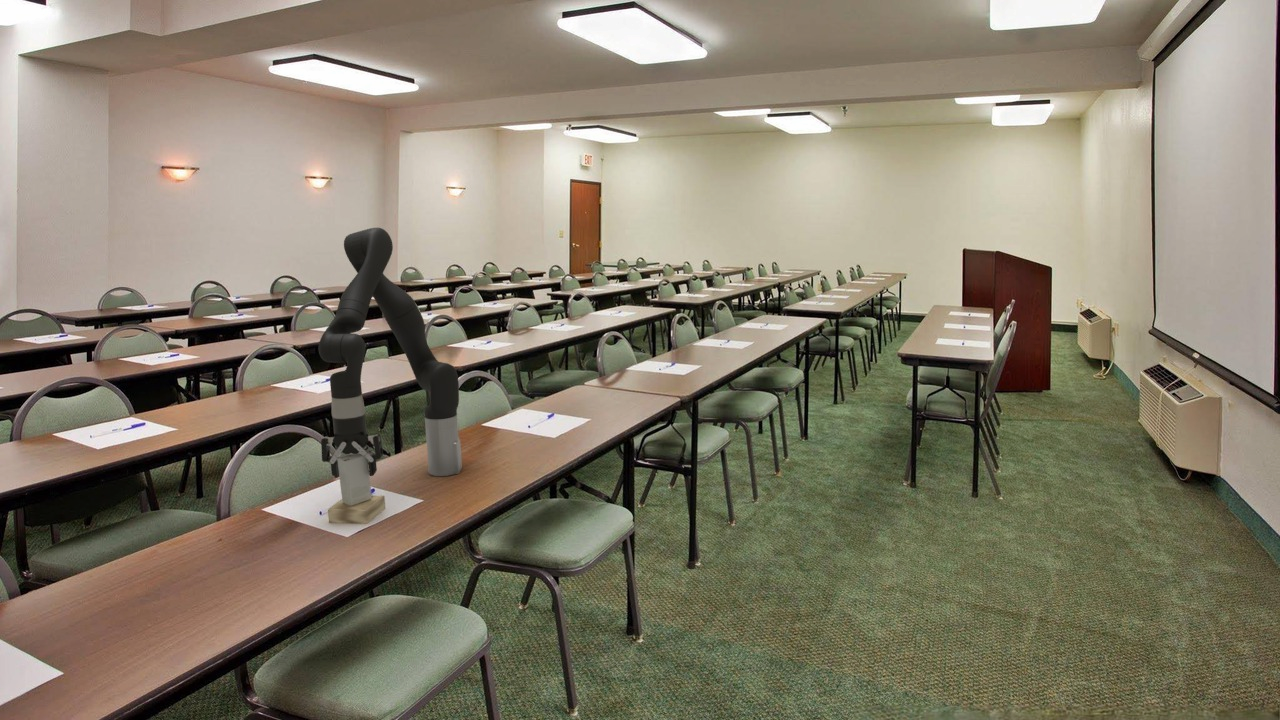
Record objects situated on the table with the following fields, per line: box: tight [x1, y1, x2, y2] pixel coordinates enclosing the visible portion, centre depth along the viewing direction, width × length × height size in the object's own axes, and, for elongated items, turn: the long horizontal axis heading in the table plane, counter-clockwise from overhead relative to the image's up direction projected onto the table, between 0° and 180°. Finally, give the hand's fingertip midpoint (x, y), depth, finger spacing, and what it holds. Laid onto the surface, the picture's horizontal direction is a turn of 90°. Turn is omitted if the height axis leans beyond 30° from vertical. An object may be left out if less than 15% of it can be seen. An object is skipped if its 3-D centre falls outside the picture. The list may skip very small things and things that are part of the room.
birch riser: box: [327, 495, 386, 525], centre depth 186 cm, size 10×10×4 cm
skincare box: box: [337, 452, 373, 506], centre depth 184 cm, size 6×4×12 cm
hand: (354, 476), depth 184 cm, fingers open, 8 cm apart
